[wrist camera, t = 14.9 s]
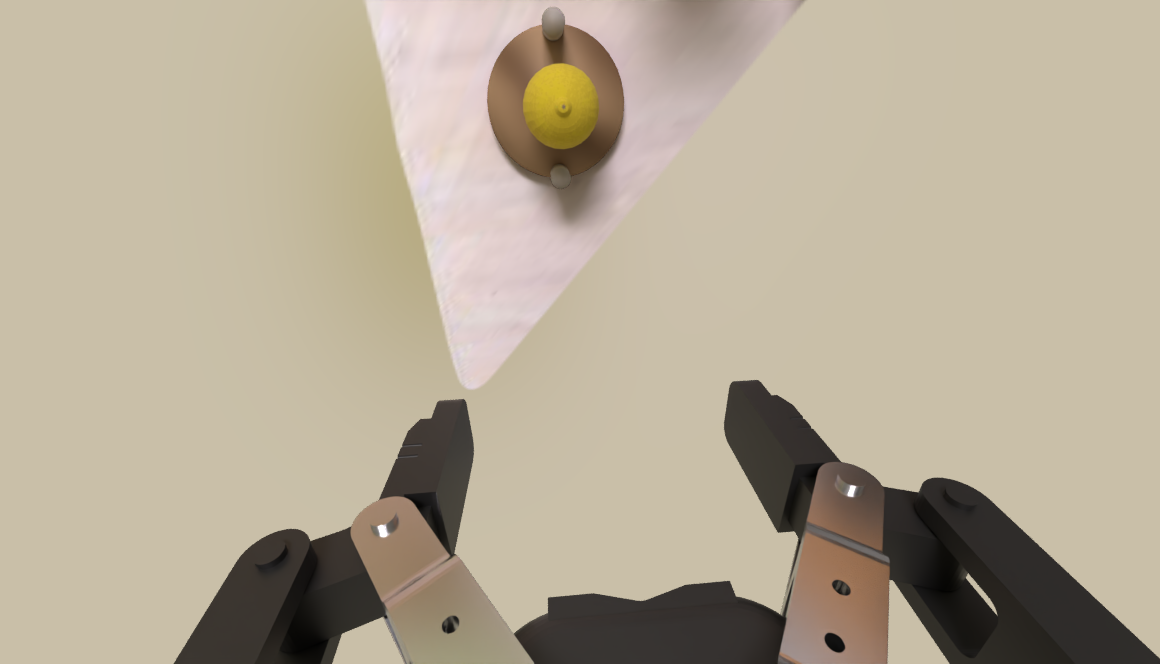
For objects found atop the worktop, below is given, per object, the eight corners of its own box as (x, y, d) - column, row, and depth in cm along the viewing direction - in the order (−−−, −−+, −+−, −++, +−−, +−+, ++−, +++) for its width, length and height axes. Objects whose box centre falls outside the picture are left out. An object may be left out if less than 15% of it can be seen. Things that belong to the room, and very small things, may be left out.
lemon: (590, 148, 37) (601, 156, 30) (523, 142, 36) (519, 149, 29) (596, 72, 34) (610, 61, 27) (525, 65, 34) (521, 51, 27)
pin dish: (532, -9, 33) (531, -24, 29) (648, 84, 36) (659, 81, 32) (465, 127, 36) (456, 129, 33) (575, 200, 40) (578, 209, 36)
